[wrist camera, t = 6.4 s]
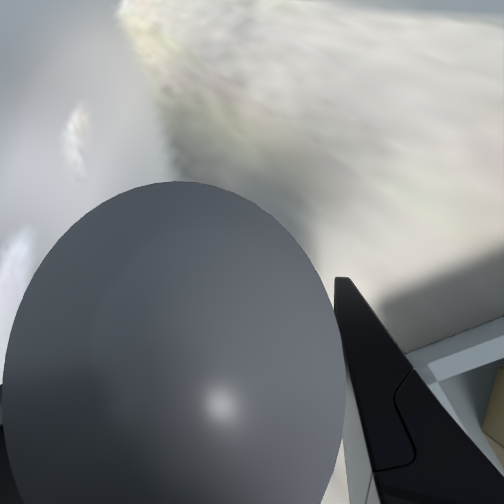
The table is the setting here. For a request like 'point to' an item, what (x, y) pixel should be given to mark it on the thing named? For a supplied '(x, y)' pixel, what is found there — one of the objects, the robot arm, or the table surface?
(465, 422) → the walled box
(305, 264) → the cream and grey cylinder
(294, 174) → the table surface
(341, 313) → the robot arm
